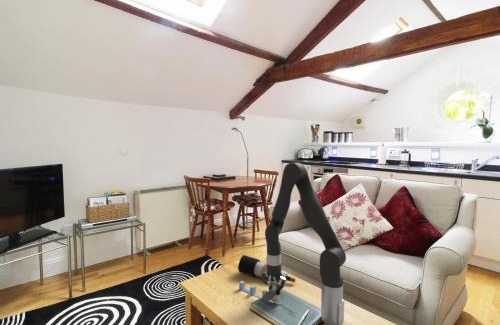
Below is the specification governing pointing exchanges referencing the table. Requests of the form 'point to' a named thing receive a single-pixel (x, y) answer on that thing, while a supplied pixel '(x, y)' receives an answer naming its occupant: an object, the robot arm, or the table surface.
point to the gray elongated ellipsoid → (269, 294)
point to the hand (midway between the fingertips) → (274, 294)
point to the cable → (257, 268)
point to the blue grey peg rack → (253, 291)
